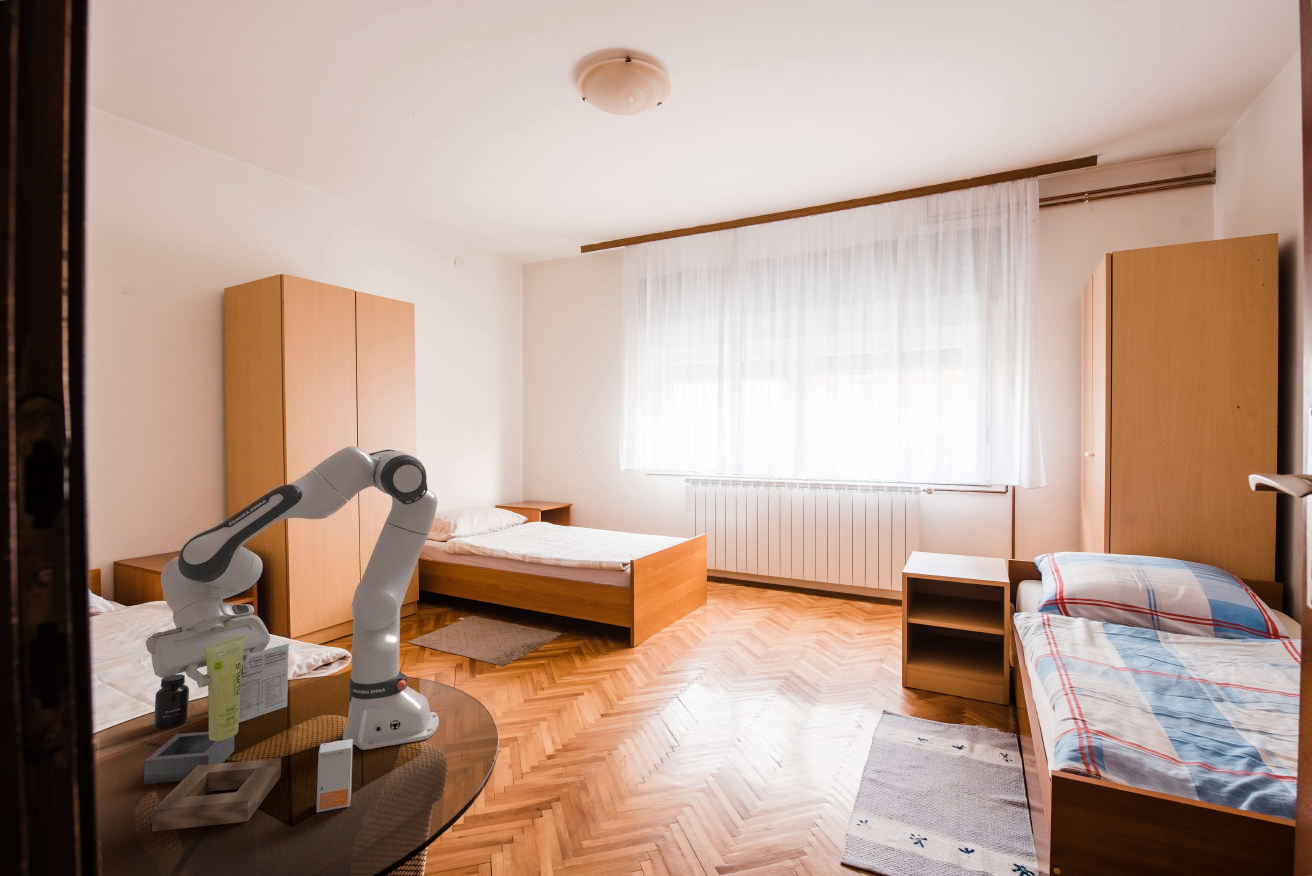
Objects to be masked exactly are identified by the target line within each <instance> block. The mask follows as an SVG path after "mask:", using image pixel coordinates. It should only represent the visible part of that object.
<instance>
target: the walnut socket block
mask: <svg viewBox="0 0 1312 876" xmlns="http://www.w3.org/2000/svg"><path fill="white" fill-rule="evenodd" d="M281 769H282V758H281V757H279V758H267V759H266V758H265V759H256V760H255V759H254V760H246V761H245V760H244V761H232V762H231V761H229V762H223V763H219V764H207V765H198V766H197V767H196V768H195V769H194V770H193V771H192V772H191V773H190V774H189V775H188V776H187V777H186V778H185V779H184V780H183V781H180V782H179V783H178V784H177V785H176V786H175V787H174V789H172V791H170V792H169V793H168V794H167V795H166V796H165V797H164V798H163V799H162V800H161V801H160V802H159V803H158V804H157V805H156V806H155V807H153V809H152V824H151V827H152V830H151V832H159V831H160V832H161V831H168V830H169V831H170V830H177V829H178V830H179V829H187V828H197V827H206V826H216V825H225V824H235V823H243V822H248V821H249V820H250V819H251V818H252V817H253V815H254V813H255V812H256V811H257V809H258V808H259V806H260V805H261V804H262V803H263V801H264V800H265V798H266V797H267V796H268V794H269V793H270V791H271V790H272V789H273V788H274V787H275V785H276V784H277V782H278V781H279V779H280V778H281V774H282V770H281ZM228 790H237V791H236V792H235V791H233V792H224V793H214V794H207V793H208V792H218V791H228Z"/></svg>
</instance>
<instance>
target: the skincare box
mask: <svg viewBox="0 0 1312 876" xmlns="http://www.w3.org/2000/svg"><path fill="white" fill-rule="evenodd" d="M353 746H354V745H353V739H349V740H344V739H342V740H336V741H335V740H334V741H332V742H326V743H320V744H319V749H318V758H317V759H318V762H317V783H316V784H317V786H316V788H317V789H316V813H321V812H327V811H330V810H331V811H332V810H336V809H342V808H348V807H350V804H351V799H352V797H351V796H352V771H353Z"/></svg>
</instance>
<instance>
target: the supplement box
mask: <svg viewBox="0 0 1312 876" xmlns="http://www.w3.org/2000/svg"><path fill="white" fill-rule="evenodd" d="M289 645H290V644H289V643H287V642H285V641H282V640H279V639H276V638H274V637H271V636H270V641H269V643H268V645H267V646H266V648H265V649H264V650H263V651H260V652H256V653H252V654H251V656H250V659H249V662H248V663H249V666H250V668H251V670H250V672H249V673H248V674H244V675H241V686H240V703H239V723H242V722H245V721H248V720H251V719H254V718H257V717H260V716H263V715H266V714H268V713H272V712H275V711H277V710H280V709H284V708H287V707H288V687H289V686H288V681H289V678H288V677H289V651H290V650H289V647H290V646H289ZM242 664H243V660H242Z"/></svg>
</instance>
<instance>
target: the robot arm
mask: <svg viewBox="0 0 1312 876" xmlns="http://www.w3.org/2000/svg"><path fill="white" fill-rule="evenodd" d="M427 481H428V479H427V471H426V468H425V466H424V464H423V463H422V462H421V461H420V459H418V458H416V457H415V456H412V455H411V454H409V453H406V452H404V451H401V450H399V451H398V450H394V449H384V450H383V449H381V450H378V451H375V452H370V453H369V452H367V451H366V450H364V449H362V448H360V447H358V446H354V445H351V446H346V447H344V448H341V449H340V450H338V451H336V452H335V453H333V454H331V455H330V456H328V457H326V459H324V460H323V461H321V462H320V463H318V464H317V465H316V466H315V467H313V468H312V469H311V470H310V471H308V472H307V473H306V474H304V475H302V476H301V477H299V478H298V479H296V480H295V481H292V482H290V483H288V484H284V485H281V486H279V487H276V488H274V489H272V490H271V491H269V492H267V493H265V494H264V495H263V496H261V497H259V498H258V499H256V500H255V501H253V502H252V503H250V504H249V505H247V506H246V507H244V508H242V509H241V510H240V511H238V512H237V513H235V514H234V515H232V516H230V517H229V518H227V519H226V520H224V521H223V522H221V523H220V524H218V525H216V526H214V527H211V528H210V529H207V530H204V531H202V532H200V533H198V534H196V535H195V536H193V537H191V538H190V539H189V540H188V541H187V542H186V543H185V544H184V545H183V546H182V548H181V550H180V552H179V554H178V556H176V557H174V558H172V559H171V560H169V561H168V562H167V563H166V564H165V565H164V567H163V568H162V571H161V573H160V584H161V589H162V593H163V596H164V599H165V601H166V604H167V606H168V607H169V608H170V609H171V610H172V620H173V623H174V625H175V628H171V629H168V630H166V631H158V632H155V633H154V632H153V634H152V635H151V636H149V637H148V638H147V639H146V640H145V646H146V649H147V652H148V653H150V654H151V664H152V668H153V672H154V675H155V676H157V677H159V678H160V679H163V678H164V677H168V676H171V675H176V674H183V673H185V674H186V676H187V677H188V678H190V679H191V680H193V681H195V682H196V683H197V686H198V688H199V689H200V688H204V687H208V685H209V683H210V678H209V676H208V674H207V673H206V674H203V673H201V672H200V671H199V670H198V669H201V668H204V667H207V662H206V653H205V647H206V646H209V645H213V644H217V643H220V642H224V641H227V640H231V639H234V638H238V637H241V636H244V635H245V642H244V650H243V664H242V671H241V675H244V674H248V673H249V672H250V670H251V668H250V666H249V663H248V662H249V659H250V656H251V654H252V653H256V652H260V651H263V650H264V649H265V648H266V646H267V645H268V643H269V641H270V637H271V635H270V633H269V631H268V628H267V627H266V625H265V623H264V621H263V620H262V619H261V618H260V617H259V616H258V615H255V614H254V613H255V608H254V606H253V605H251V604H247V603H246V604H245V603H243V604H240V603H230V602H224V600H226V599H229V598H232V597H233V596H234V597H235V596H236V595H239V594H242V593H243V592H246V591H247V590H249V589H251V588H252V587H254V585H255V584H256V583H258V582H259V580H260V578H261V576H262V574H263V571H264V562H263V559H261V557H260V556H259V555H258V554H256V553H254V552H253V551H252V550H250V549H248V548H246V547H244V546H243V545H245V544H246V543H247V542H249V541H251V540H252V539H253V538H255V537H257V536H258V535H259V534H260V533H262V532H264V531H265V530H267V529H268V528H270V526H272V525H274V524H275V523H277V522H280V521H283V520H287V519H307V520H322V519H326V518H328V517H330V516H332V515H333V514H336V512H338V511H340V509H342V508H343V507H344V506H345V505H347V503H348V502H350V501H351V500H352V499H353V498H354V497H355V496H356V495H357V494H358V493H359V492H362V491H363V490H366V489H367V488H370V487H375V488H376V489H378V491H381V492H382V493H384V494H387V495H389V496H391V501H392V503H391V508H390V512H389V514H388V515H387V518H386V520H385V522H384V524H383V527H382V529H381V531H380V534H379V536H378V539H377V541H376V542H375V545H374V548H373V550H372V553H371V555H370V558H369V559H368V560H369V561H368V563H367V564H366V565H367V566H366V569H365V570H364V573H363V576H362V577H361V580H360V582H359V583H358V585H357V586H356V588H355V591H354V595H353V598H352V602H351V614H352V616H353V626H352V644H351V677H350V678H349V681H348V682H349V683H348V702H349V707H348V714H347V720H346V724H345V727H344V731H343V733H342V740H349V739H353V746H356V747H358V749H360V750H363V751H364V750H372V749H377V748H383V747H388V746H396V745H402V744H406V743H407V744H408V743H412V742H413V743H414V742H418V741H423V740H427V739H429V738H430V737H432V736H434V734H435V733H436V732H437V729H439V725H440V719H439V715H438V713H436V712H434V711H431V709H430V704H429V701H428V699H427V697H426V696H425V695H423V694H421V693H419V692H418V691H417V690H415V689H413V688H412V687H409V686H408V672H405V674H404V673H403V672H401V671H400V643H401V642H400V641H401V640H400V638H401V636H400V635H401V634H400V633H401V632H400V631H401V630H400V629H401V624H400V623H401V608H402V606H403V604H404V603H403V602H404V600H405V597H406V594H407V592H408V589H409V586H410V584H411V580H412V579H413V578H412V577H413V574H414V572H415V569H416V566H417V563H418V561H419V558H420V555H421V553H422V551H423V549H424V546H425V544H426V542H427V539H428V537H429V534H430V531H431V529H432V526H433V524H434V523H433V522H434V519H435V517H436V512H437V507H438V498H437V496H436V493H434V491H432V490H431V489H429V488H428V483H427Z"/></svg>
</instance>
